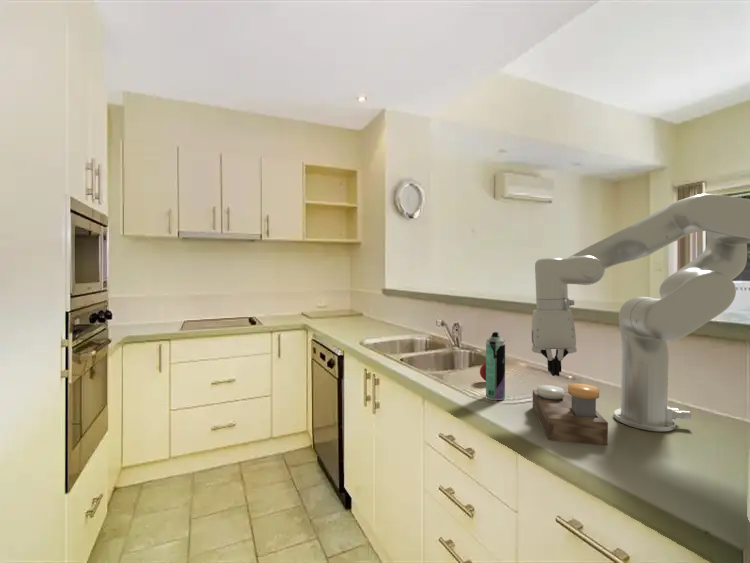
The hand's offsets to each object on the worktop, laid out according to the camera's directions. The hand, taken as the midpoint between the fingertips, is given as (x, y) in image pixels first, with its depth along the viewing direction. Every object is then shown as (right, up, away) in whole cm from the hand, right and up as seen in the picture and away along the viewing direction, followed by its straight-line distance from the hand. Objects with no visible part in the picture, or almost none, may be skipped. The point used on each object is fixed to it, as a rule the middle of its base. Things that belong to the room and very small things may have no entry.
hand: (554, 374), depth 97 cm
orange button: (+2, -7, -10) cm, 13 cm away
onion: (-8, -11, +29) cm, 32 cm away
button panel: (0, -11, -5) cm, 12 cm away
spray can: (-11, -11, +14) cm, 21 cm away
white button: (-1, -11, +1) cm, 11 cm away
